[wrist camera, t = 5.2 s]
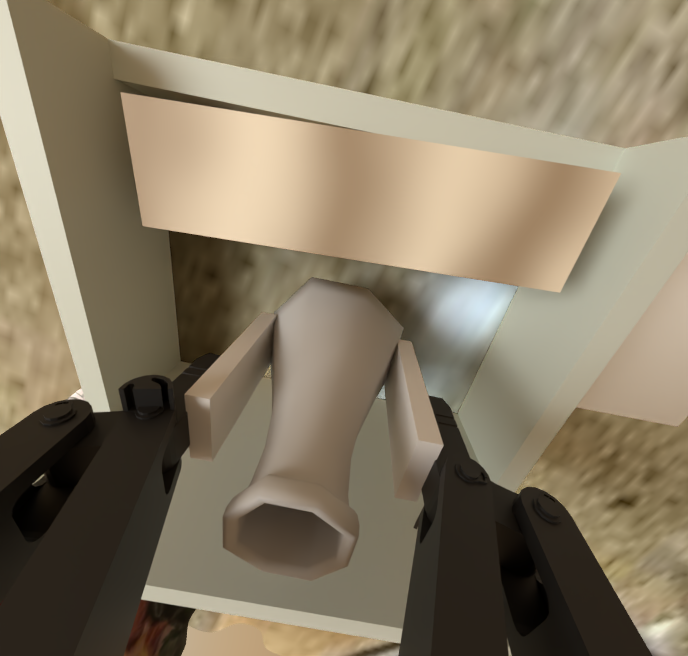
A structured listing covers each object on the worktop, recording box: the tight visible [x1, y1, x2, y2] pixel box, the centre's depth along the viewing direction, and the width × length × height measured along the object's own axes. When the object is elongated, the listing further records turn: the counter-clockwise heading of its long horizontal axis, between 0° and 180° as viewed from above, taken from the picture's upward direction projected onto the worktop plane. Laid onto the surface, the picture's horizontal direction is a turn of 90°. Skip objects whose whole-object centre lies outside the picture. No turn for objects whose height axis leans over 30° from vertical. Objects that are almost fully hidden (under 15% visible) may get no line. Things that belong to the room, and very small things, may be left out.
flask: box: [223, 277, 404, 581], centre depth 11 cm, size 7×7×10 cm
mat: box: [577, 252, 688, 427], centre depth 16 cm, size 11×12×1 cm
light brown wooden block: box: [120, 92, 621, 293], centre depth 12 cm, size 17×4×6 cm, turn 82°
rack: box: [0, 0, 688, 656], centre depth 11 cm, size 23×18×12 cm
